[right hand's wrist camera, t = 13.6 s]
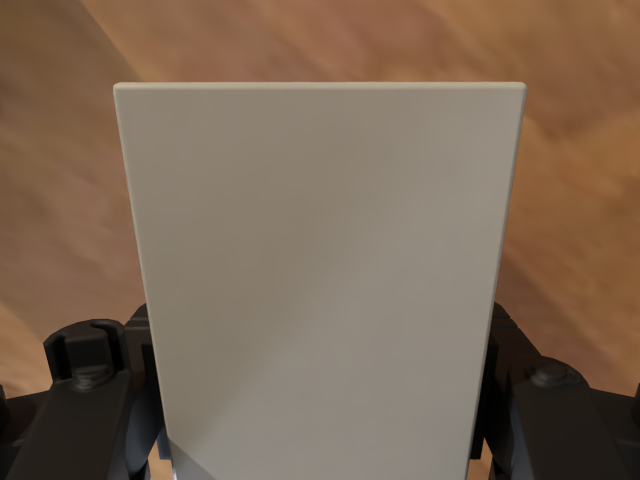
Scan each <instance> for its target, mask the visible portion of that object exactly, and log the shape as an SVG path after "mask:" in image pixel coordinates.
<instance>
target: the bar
mask: <svg viewBox="0 0 640 480" xmlns="http://www.w3.org/2000/svg"><path fill="white" fill-rule="evenodd" d="M113 95H114V102H115V108H116V114H117V121H118V127H119V133H120V140H121V146H122V152H123V159H124V165H125V171H126V178H127V184H128V190H129V197H130V203H131V209H132V216H133V222H134V228H135V235H136V241H137V247H138V254H139V260H140V266H141V272H142V279H143V285H144V291H145V298H146V304H147V310H148V317H149V323H150V329H151V336H152V342H153V348H154V355H155V361H156V367H157V374H158V380H159V386H160V393H161V399H162V405H163V412H164V418H165V424H166V431H167V437H168V443H169V450H170V456H171V462H172V469H173V475H174V480H467V474H468V467H469V461H470V454H471V448H472V442H473V435H474V429H475V422H476V416H477V409H478V403H479V397H480V390H481V384H482V377H483V371H484V364H485V358H486V352H487V345H488V339H489V332H490V326H491V319H492V313H493V307H494V300H495V294H496V287H497V281H498V274H499V268H500V262H501V255H502V249H503V242H504V236H505V229H506V223H507V217H508V210H509V204H510V197H511V191H512V185H513V178H514V172H515V165H516V159H517V152H518V146H519V140H520V133H521V127H522V120H523V114H524V107H525V101H526V95H527V86H526V84H524V83H522V82H119V83H117V84H115V85H114V86H113Z"/></svg>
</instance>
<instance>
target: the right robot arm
mask: <svg viewBox="0 0 640 480" xmlns="http://www.w3.org/2000/svg"><path fill="white" fill-rule="evenodd" d="M43 345H44V349H45V353H46V357H47V360H48V364H49V368H50V372H51V376H52V380H53V384H52V386H51V388H50V390H48V391H44V392H40V393H35V394H30V395H25V396H20V397H15V398H10V399H6V397H5V393H4V390H3V387H2V385H0V480H150V477H151V476H150V468H149V462H148V456H149V453H150V451H151V449H152V447H153V445H154V443H155V440H156V439H157V445H158V451H159V457H160V459H171V456H170V450H169V443H168V437H167V431H166V424H165V418H164V412H163V405H162V399H161V393H160V386H159V380H158V374H157V367H156V361H155V355H154V348H153V342H152V336H151V329H150V323H149V317H148V310H147V304H146V303H145V304H144V305H142V306H140V307H139V308H138V310H137V311H136V312H135V313H134V314H133V316H132V317H131V318H130V321H128V322H127V323H126V324H125V326H124V325H122V324H121V323H120V322H118V321H115V320H111V319H91V320H86V321H81V322H77V323H74V324H72V325H69V326H66V327H64V328H62V329H60V330H58V331H57V332H55V333H53V334H52V335H50V336H49V337H48V338H47V339H46V340H45V342H44V343H43ZM484 438H485V440H486V442H487V444H488V446H489V448H490V451H491V453H492V455H493V457H492V462H491V468H490V473H489V479H488V480H640V383H639V385H638V388H637V391H636V395H635V397H630V396H625V395H620V394H615V393H610V392H605V391H600V390H596V389H592V388H590V387H589V385H588V383H587V381H586V380H585V379H584V377H583V376H582V375H581V374H580V373H579V372H578V371H577V370H575V369H574V368H572V367H571V366H569V365H568V364H565V363H563V362H561V361H558V360H556V359H554V358H549V357H545V356H542V355H541V354H540V353H539V352H538V350H537V349H536V348H535V347H534V346H533V344H532V343H531V342H530V341H529V339H528V338H527V337H526V336H525V334H524V333H523V332H522V331H521V330H520V329H518V326H517V325H516V323H515V322H514V321H513V320H512V319H510V316H509V315H508V314H507V312H506V311H505V310H504V309H503V307H502V306H501V305H499V304H498V303H496V302H494V307H493V313H492V319H491V326H490V332H489V339H488V345H487V352H486V358H485V364H484V371H483V377H482V384H481V390H480V397H479V403H478V409H477V416H476V422H475V429H474V435H473V442H472V448H471V454H470V459H481V453H482V447H483V441H484Z"/></svg>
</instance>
